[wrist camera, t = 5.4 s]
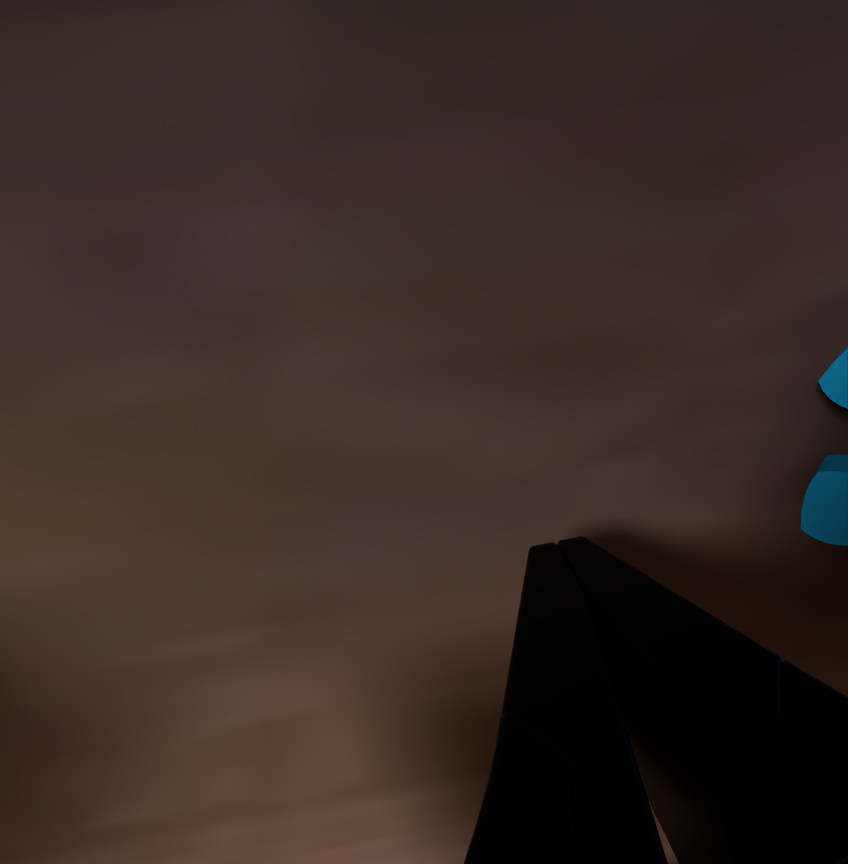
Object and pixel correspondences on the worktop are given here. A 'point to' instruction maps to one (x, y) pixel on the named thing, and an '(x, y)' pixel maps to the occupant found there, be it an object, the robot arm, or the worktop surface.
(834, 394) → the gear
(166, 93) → the worktop surface
